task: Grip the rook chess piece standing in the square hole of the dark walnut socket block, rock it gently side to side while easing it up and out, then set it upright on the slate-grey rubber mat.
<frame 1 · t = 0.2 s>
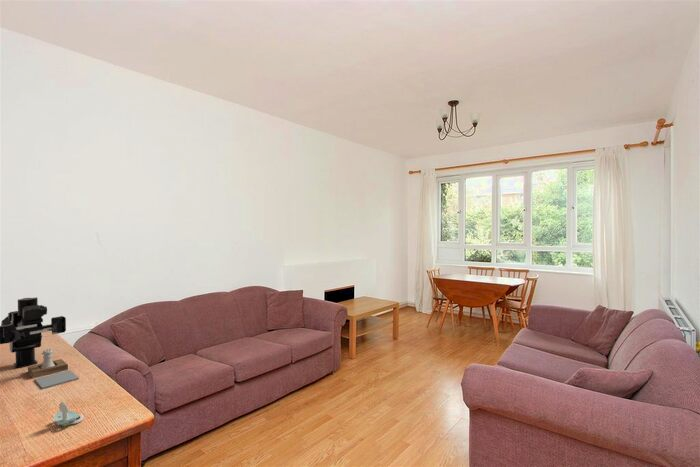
hand: (38, 333, 124), 16 cm above the table, tool horizontal, fingers open, 9 cm apart
slate mat: (57, 379, 124), on the table
socket block: (48, 370, 132), on the table
pacifier: (69, 423, 95), on the table
rook chess piece: (48, 371, 132), resting in socket block
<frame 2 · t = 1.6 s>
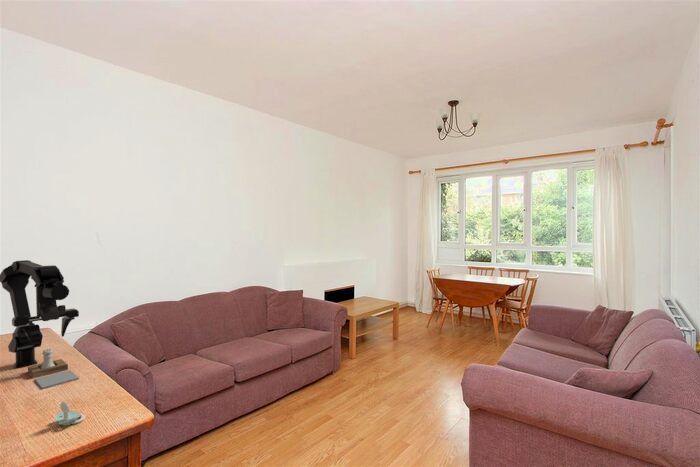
hand: (47, 339, 132), 12 cm above the table, tool pointing down, fingers open, 9 cm apart
nothing on the table moved.
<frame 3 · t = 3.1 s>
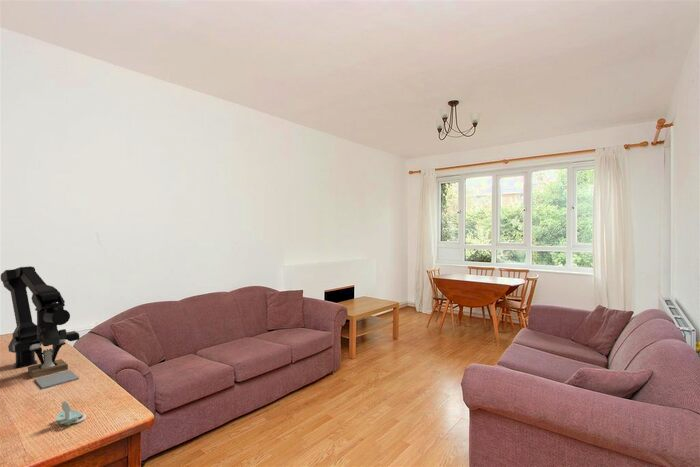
hand: (47, 363, 133), 3 cm above the table, tool pointing down, fingers closed on rook chess piece, 3 cm apart
rook chess piece: (48, 371, 132), resting in socket block, touching gripper
everything else where it was.
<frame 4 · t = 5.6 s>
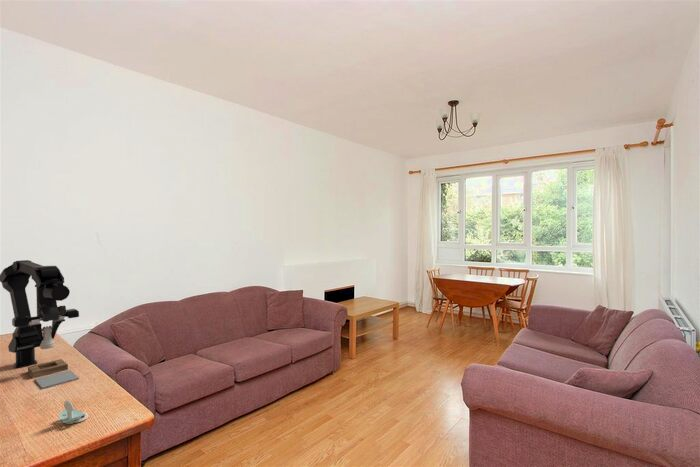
hand: (47, 339, 133), 12 cm above the table, tool pointing down, fingers closed on rook chess piece, 3 cm apart
rook chess piece: (47, 348, 133), point 9 cm above the table, touching gripper
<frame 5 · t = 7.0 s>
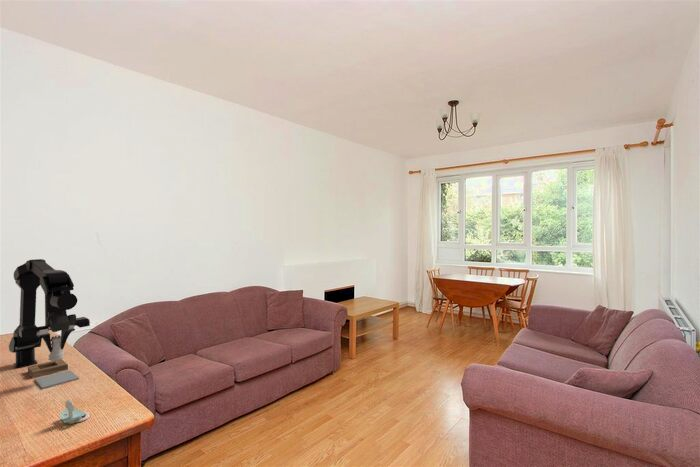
hand: (56, 350, 124), 10 cm above the table, tool pointing down, fingers closed on rook chess piece, 3 cm apart
rook chess piece: (56, 359, 124), point 7 cm above the table, touching gripper
when the fingers open (4 cm above the table, at t = 8.3 s): rook chess piece stays where it is, resting on slate mat.
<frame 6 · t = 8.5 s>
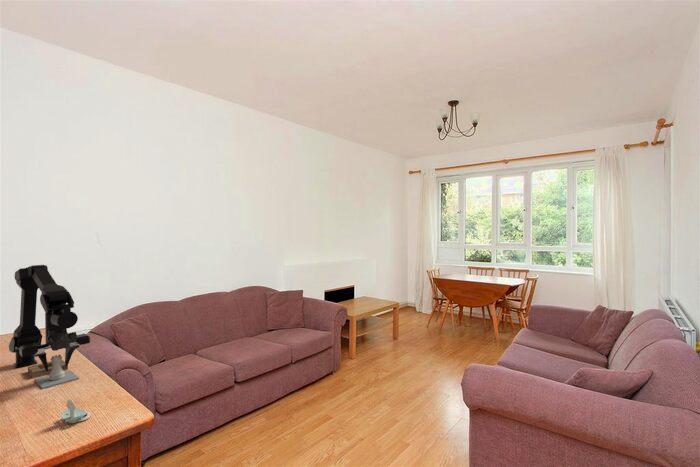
hand: (56, 368, 124), 4 cm above the table, tool pointing down, fingers open, 5 cm apart
rook chess piece: (56, 378, 124), resting on slate mat
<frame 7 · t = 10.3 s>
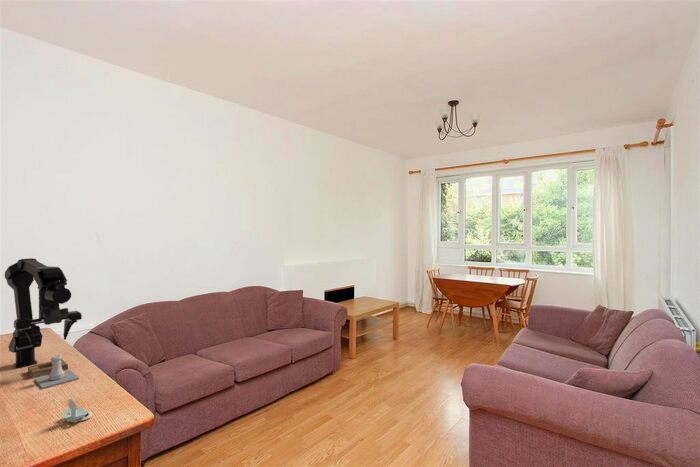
hand: (49, 342, 130), 12 cm above the table, tool pointing down, fingers open, 9 cm apart
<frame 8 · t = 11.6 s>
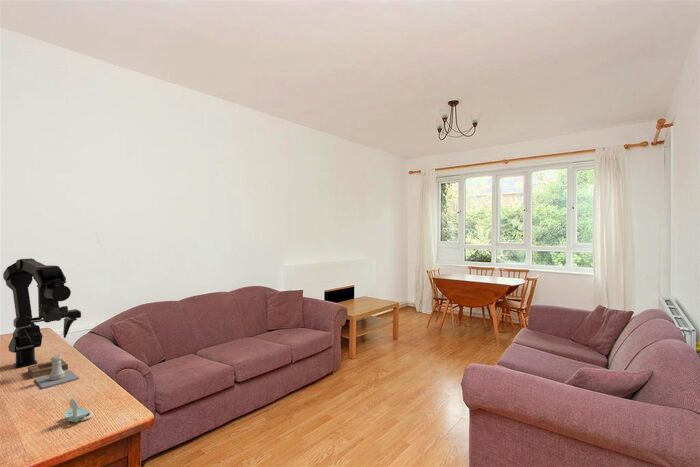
hand: (49, 340, 131), 12 cm above the table, tool pointing down, fingers open, 9 cm apart
at the end: rook chess piece inside the target area on the slate mat (0.1 cm from its centre), point 0.3 cm above the slate mat's base; rook chess piece tilted 0°; the gripper is holding nothing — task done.
